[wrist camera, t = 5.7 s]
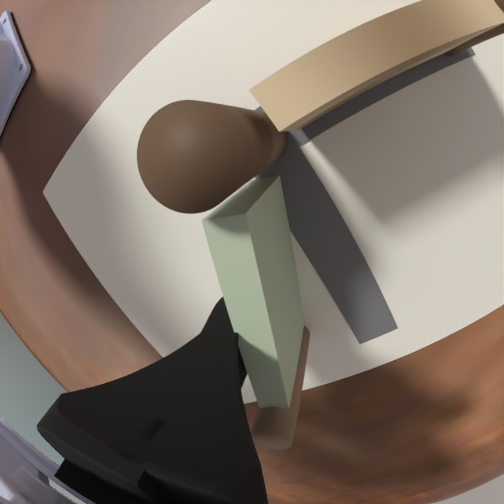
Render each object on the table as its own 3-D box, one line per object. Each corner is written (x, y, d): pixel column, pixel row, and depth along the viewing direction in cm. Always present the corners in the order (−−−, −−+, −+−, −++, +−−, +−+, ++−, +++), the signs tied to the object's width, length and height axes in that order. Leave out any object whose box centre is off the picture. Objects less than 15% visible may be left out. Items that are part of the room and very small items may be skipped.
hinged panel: (247, 180, 10) (172, 238, 5) (285, 174, 10) (241, 229, 5) (281, 345, 13) (254, 448, 8) (311, 344, 13) (294, 451, 8)
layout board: (47, 190, 14) (42, 192, 14) (402, -76, 4) (404, -80, 3) (217, 404, 18) (215, 409, 18) (563, 253, 8) (567, 257, 7)
